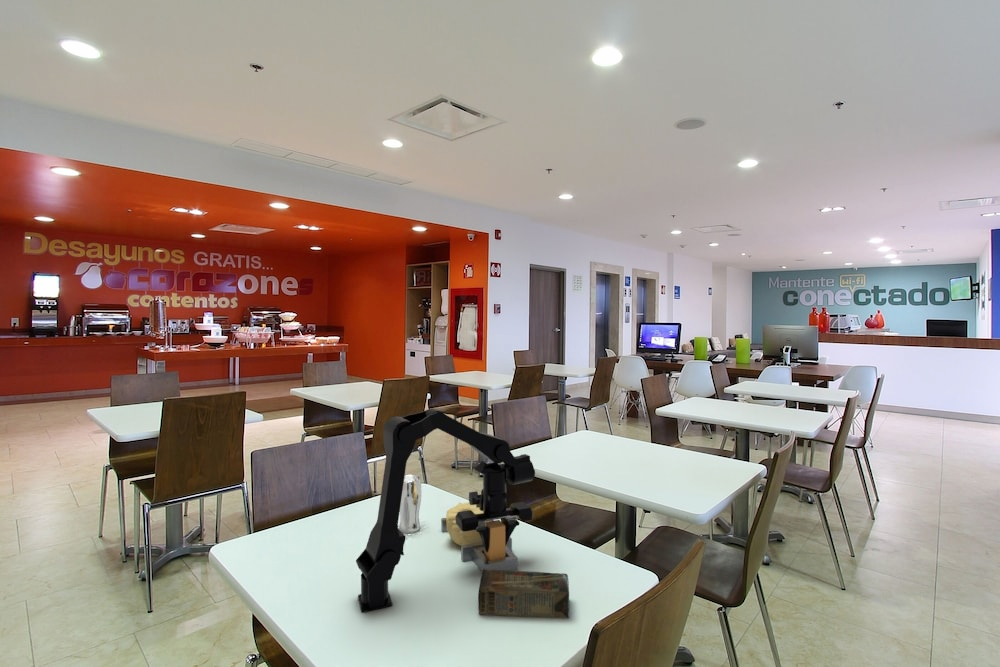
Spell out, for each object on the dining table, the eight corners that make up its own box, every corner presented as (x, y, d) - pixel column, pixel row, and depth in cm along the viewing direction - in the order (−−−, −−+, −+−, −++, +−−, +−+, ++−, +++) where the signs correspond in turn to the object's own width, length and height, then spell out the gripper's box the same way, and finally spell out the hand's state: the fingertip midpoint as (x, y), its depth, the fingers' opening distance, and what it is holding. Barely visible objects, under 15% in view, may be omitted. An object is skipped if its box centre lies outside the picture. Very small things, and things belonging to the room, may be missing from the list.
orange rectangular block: (505, 561, 124) (505, 525, 123) (490, 565, 122) (490, 528, 122) (499, 554, 127) (499, 519, 127) (484, 557, 126) (484, 522, 125)
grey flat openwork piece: (527, 568, 123) (527, 554, 123) (475, 579, 118) (475, 564, 118) (484, 522, 150) (484, 511, 150) (441, 530, 145) (441, 518, 145)
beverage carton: (570, 620, 103) (570, 589, 102) (477, 617, 104) (476, 586, 104) (568, 598, 111) (567, 569, 110) (481, 595, 112) (481, 566, 112)
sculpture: (442, 549, 133) (441, 509, 133) (454, 530, 145) (454, 493, 145) (484, 553, 131) (483, 512, 131) (493, 533, 143) (493, 496, 143)
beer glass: (393, 532, 144) (392, 480, 143) (404, 522, 151) (404, 473, 150) (415, 535, 142) (414, 483, 141) (425, 525, 149) (425, 475, 148)
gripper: (515, 473, 135) (515, 530, 136) (448, 482, 128) (449, 542, 129) (534, 486, 125) (534, 548, 125) (462, 497, 118) (462, 562, 118)
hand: (494, 549), depth 125 cm, fingers closed on orange rectangular block, 4 cm apart
